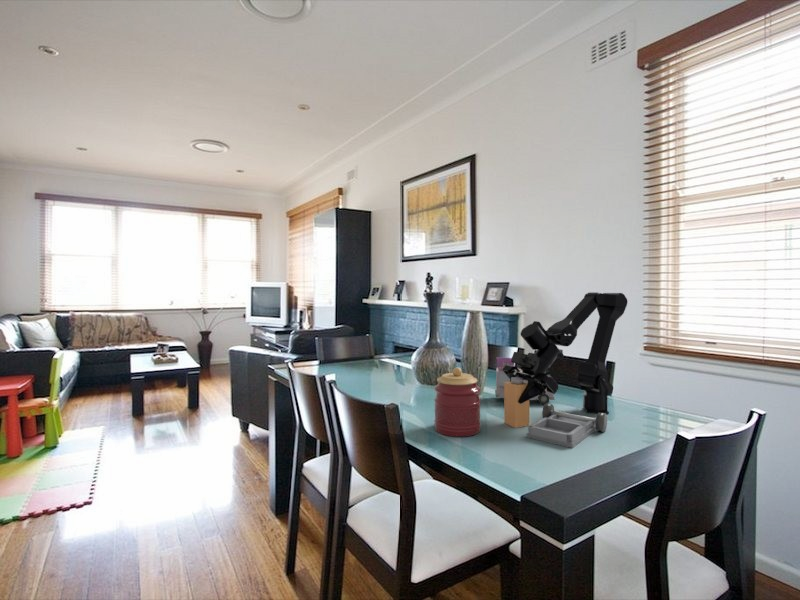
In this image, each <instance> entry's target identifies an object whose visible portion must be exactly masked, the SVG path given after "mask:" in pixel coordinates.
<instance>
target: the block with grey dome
mask: <svg viewBox="0 0 800 600" xmlns="http://www.w3.org/2000/svg"><path fill="white" fill-rule="evenodd" d="M527 385H528V384H527V383H523V382H522V378H520V377H512V378H511V382H504V401H503V402H504V403H503V404H504V405H503V407H504V408H503V409H504V410H503V411H504V413H503V415H504V417H503V419H504V420H503V421H504V422H503V423H504V424H506V425H508V426H510V427H513V428H515V429H518V428H522V427H523V426H524V427H529V426H530V399H529V400H527V401H525V402H523V403H521V404H520V403H519V402H518V400H519V398H520V396H521V395H522V393H523V391H524V390H525V388H526V387H527ZM524 427H523V428H524Z"/></svg>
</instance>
